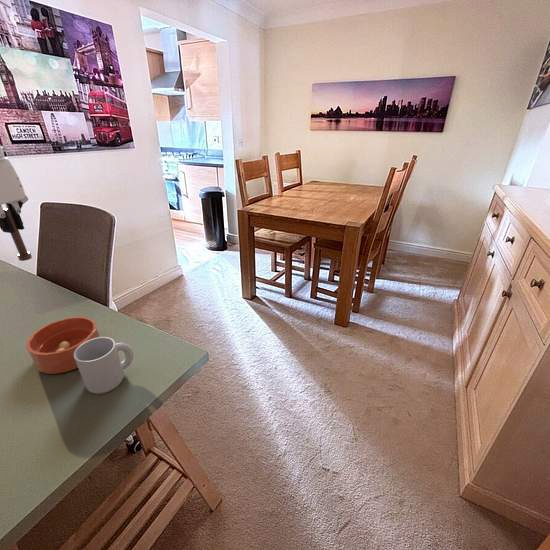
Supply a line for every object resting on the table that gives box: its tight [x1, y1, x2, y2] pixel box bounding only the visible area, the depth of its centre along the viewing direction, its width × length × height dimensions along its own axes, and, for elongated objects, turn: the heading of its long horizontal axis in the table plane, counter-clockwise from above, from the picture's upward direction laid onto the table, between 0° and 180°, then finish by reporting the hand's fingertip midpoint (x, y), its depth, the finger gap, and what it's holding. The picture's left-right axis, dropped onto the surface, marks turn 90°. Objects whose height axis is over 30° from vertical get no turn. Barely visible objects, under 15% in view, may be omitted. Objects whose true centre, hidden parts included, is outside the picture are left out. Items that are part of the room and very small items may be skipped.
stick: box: [3, 207, 33, 262], centre depth 77 cm, size 3×3×14 cm
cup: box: [74, 336, 134, 395], centre depth 62 cm, size 7×10×9 cm
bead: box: [59, 341, 70, 349], centre depth 70 cm, size 2×2×2 cm
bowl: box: [25, 316, 101, 375], centre depth 69 cm, size 13×13×6 cm
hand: (13, 230), depth 77 cm, fingers closed on stick
